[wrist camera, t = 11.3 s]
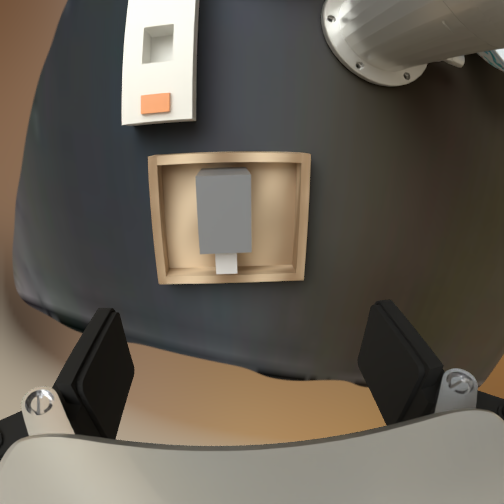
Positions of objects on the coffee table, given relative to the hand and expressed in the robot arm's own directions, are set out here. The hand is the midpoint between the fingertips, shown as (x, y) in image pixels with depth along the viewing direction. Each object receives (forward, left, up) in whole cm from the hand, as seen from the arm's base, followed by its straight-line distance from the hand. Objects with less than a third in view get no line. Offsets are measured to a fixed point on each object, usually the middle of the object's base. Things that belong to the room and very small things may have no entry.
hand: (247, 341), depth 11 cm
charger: (+1, +4, -16) cm, 17 cm away
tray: (0, 0, -20) cm, 20 cm away
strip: (+6, -19, -20) cm, 28 cm away
